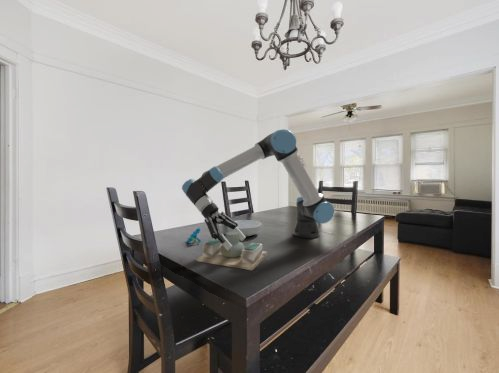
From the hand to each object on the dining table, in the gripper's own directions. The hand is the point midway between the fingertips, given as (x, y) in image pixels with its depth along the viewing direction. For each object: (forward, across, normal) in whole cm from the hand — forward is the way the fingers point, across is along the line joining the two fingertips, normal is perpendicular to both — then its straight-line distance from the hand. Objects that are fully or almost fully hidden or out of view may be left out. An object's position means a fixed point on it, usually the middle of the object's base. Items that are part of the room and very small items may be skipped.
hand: (237, 243), depth 101 cm
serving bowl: (-4, -37, -14) cm, 40 cm away
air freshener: (+2, 0, -6) cm, 6 cm away
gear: (-18, -12, -28) cm, 35 cm away
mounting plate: (+3, 0, -6) cm, 7 cm away
